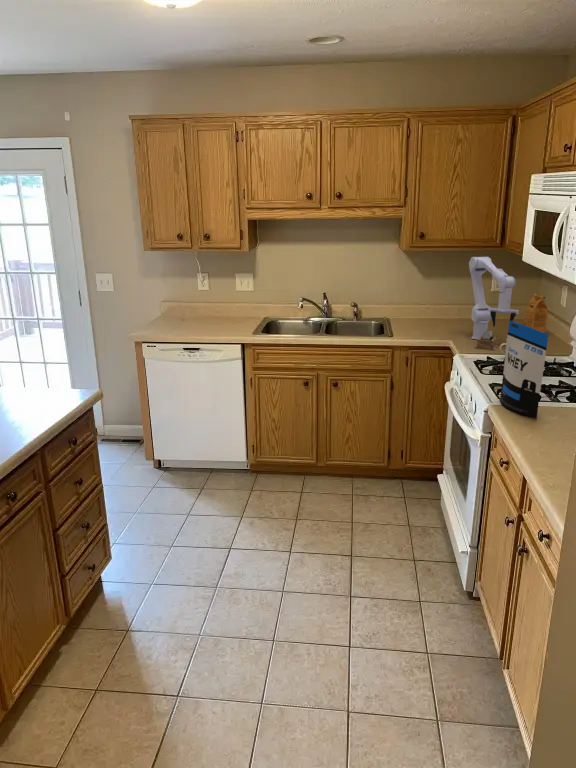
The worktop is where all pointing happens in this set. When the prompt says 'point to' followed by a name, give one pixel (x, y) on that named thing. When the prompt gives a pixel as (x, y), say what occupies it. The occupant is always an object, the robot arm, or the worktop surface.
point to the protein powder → (523, 369)
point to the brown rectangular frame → (486, 343)
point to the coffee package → (536, 314)
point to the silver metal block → (487, 335)
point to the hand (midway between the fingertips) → (501, 326)
